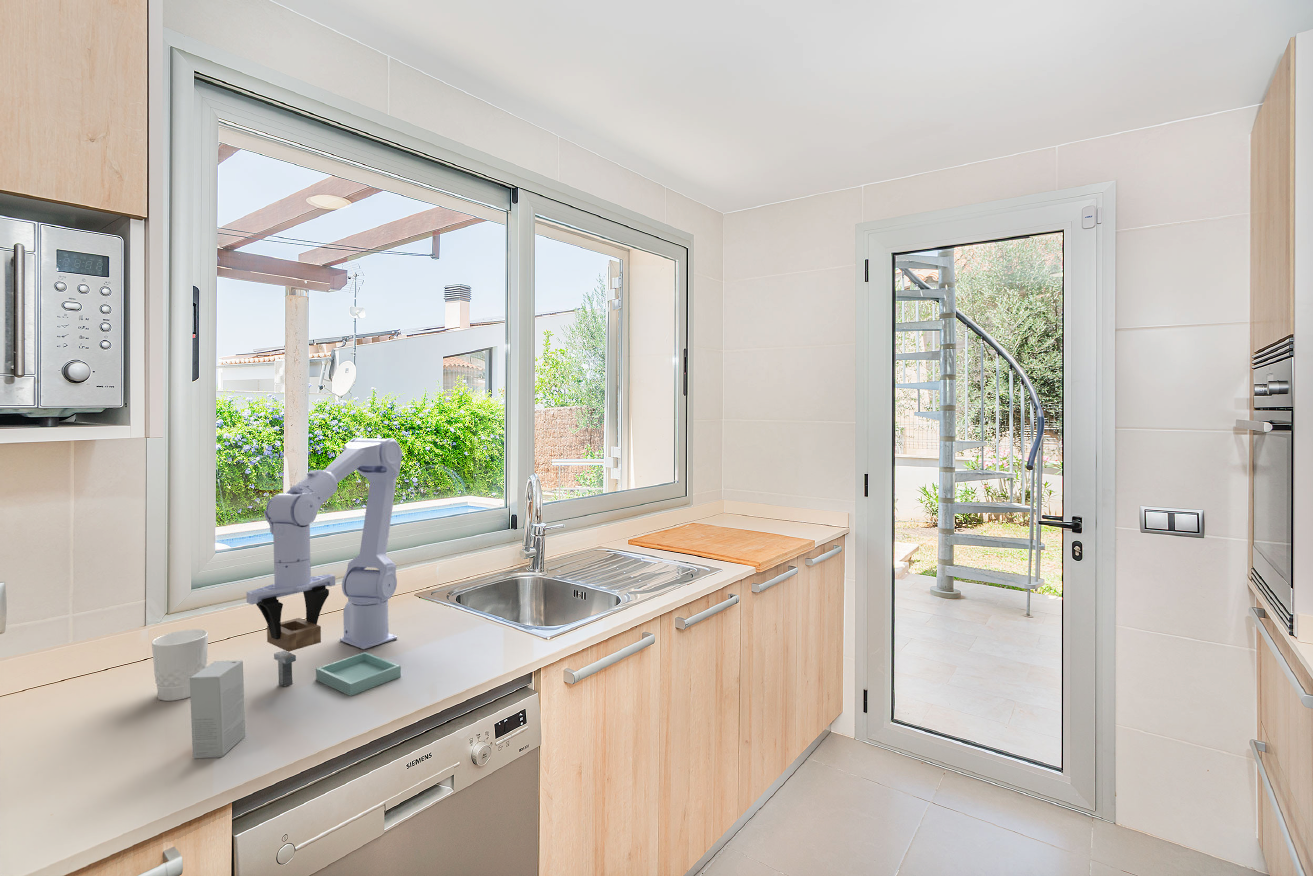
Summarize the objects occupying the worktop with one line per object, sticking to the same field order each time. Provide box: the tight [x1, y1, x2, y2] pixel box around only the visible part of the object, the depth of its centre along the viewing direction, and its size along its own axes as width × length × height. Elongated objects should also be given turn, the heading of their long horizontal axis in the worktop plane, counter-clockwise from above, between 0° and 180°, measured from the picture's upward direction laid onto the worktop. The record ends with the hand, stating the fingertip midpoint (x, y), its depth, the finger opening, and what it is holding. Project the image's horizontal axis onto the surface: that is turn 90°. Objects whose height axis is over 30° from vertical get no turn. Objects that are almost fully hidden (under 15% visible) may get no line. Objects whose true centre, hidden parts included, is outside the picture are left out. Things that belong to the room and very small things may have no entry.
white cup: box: [151, 628, 209, 702], centre depth 109 cm, size 8×8×10 cm
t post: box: [273, 650, 297, 688], centre depth 113 cm, size 4×2×6 cm, turn 56°
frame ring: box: [266, 617, 322, 653], centre depth 113 cm, size 6×8×3 cm
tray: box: [315, 651, 402, 697], centre depth 116 cm, size 12×10×2 cm
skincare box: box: [189, 660, 247, 759], centre depth 91 cm, size 6×4×12 cm
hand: (294, 633), depth 113 cm, fingers closed on frame ring, 6 cm apart
